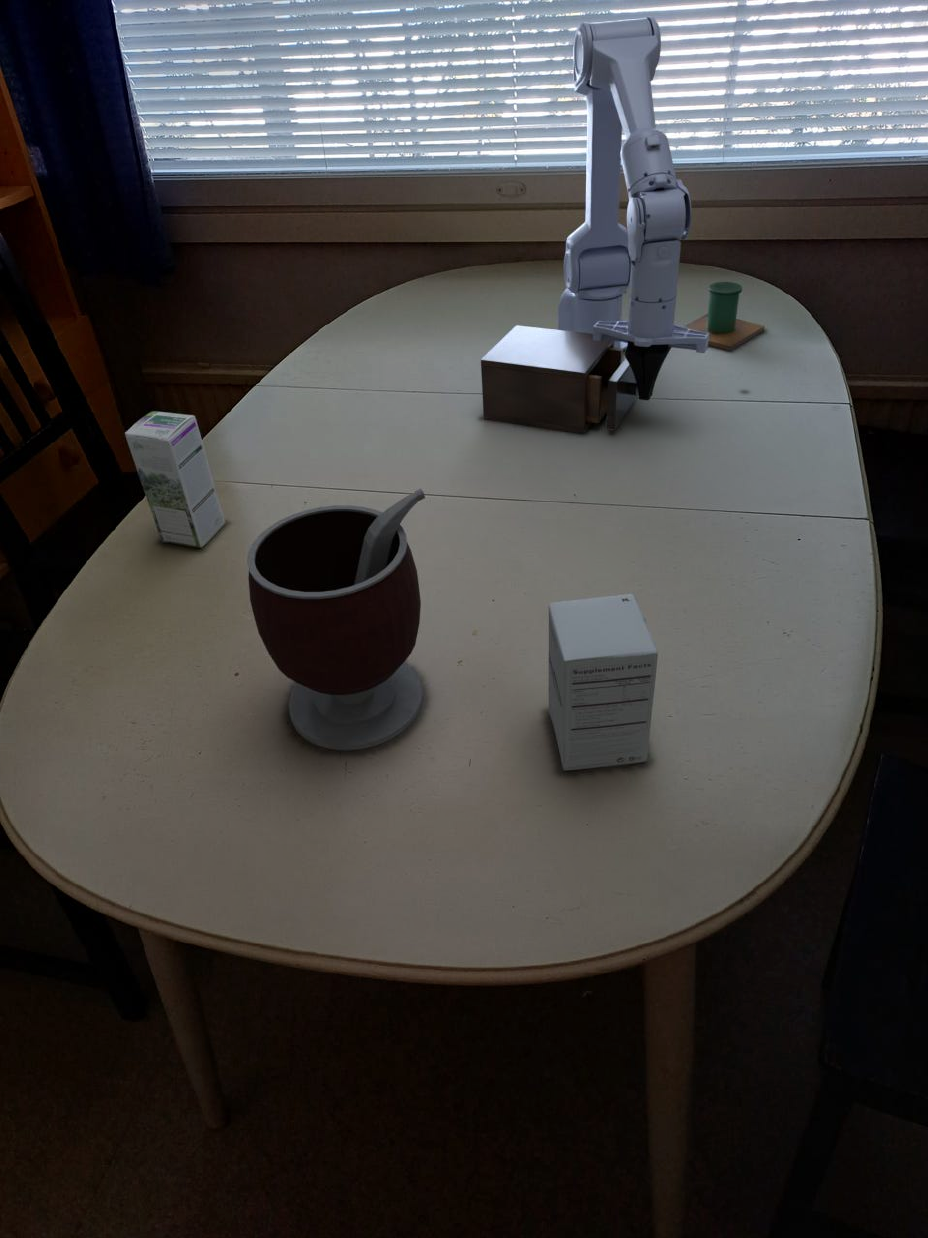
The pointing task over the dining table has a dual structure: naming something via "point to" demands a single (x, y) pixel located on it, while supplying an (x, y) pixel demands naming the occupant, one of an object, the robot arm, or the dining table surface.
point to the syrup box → (176, 477)
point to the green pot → (723, 307)
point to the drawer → (610, 389)
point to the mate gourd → (341, 620)
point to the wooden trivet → (731, 339)
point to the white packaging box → (601, 681)
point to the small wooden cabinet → (540, 377)
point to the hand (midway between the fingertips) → (645, 396)
